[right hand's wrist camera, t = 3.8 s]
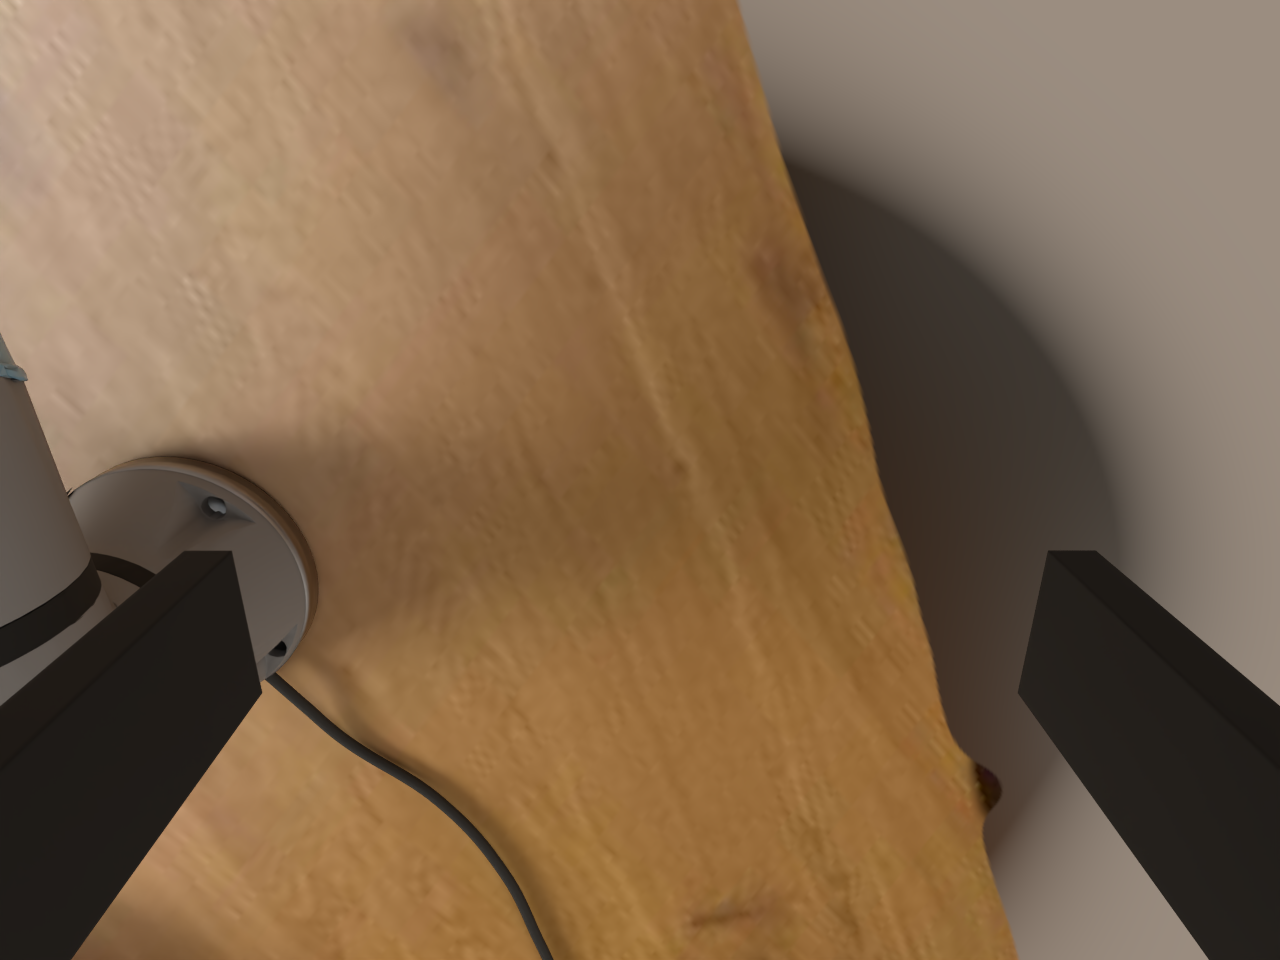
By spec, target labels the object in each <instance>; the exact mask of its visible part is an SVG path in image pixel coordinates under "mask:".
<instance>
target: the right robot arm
mask: <svg viewBox="0 0 1280 960" xmlns="http://www.w3.org/2000/svg"><path fill="white" fill-rule="evenodd" d="M27 380H28V379H27V375H26V373H25V372H24V370H23V369H22V368H20V367H19V366H17V365H15V363H14V361H13V359H12V357H11V355H10V353H9V351H8V349H7V347H6V344H5V342H4V340H3V338H2V336H1V334H0V960H71V959H72V957H73V956H74V955H75V953H76V952H77V951H78V949H79V948H80V946H81V945H82V944H83V942H84V941H85V939H86V938H87V937H88V935H89V934H90V932H91V931H92V930H93V928H94V927H95V925H96V924H97V923H98V921H99V920H100V918H101V917H102V916H103V914H104V913H105V911H106V910H107V909H108V907H109V906H110V904H111V903H112V902H113V900H114V899H115V898H116V896H117V895H118V893H119V892H120V891H121V889H122V888H123V886H124V885H125V884H126V882H127V881H128V879H129V878H130V877H131V875H132V874H133V872H134V871H135V870H136V868H137V867H138V865H139V864H140V863H141V861H142V860H143V858H144V857H145V856H146V854H147V853H148V851H149V850H150V849H151V847H152V846H153V845H154V843H155V842H156V840H157V839H158V838H159V836H160V835H161V833H162V832H163V831H164V829H165V828H166V826H167V825H168V824H169V822H170V821H171V819H172V818H173V817H174V815H175V814H176V812H177V811H178V810H179V808H180V807H181V805H182V804H183V803H184V801H185V800H186V798H187V797H188V796H189V794H190V793H191V792H192V790H193V789H194V787H195V786H196V785H197V783H198V782H199V780H200V779H201V778H202V776H203V775H204V773H205V772H206V771H207V769H208V768H209V766H210V765H211V764H212V762H213V761H214V759H215V758H216V757H217V755H218V754H219V752H220V751H221V750H222V748H223V747H224V745H225V744H226V743H227V741H228V740H229V738H230V737H231V736H232V734H233V733H234V732H235V730H236V729H237V727H238V726H239V725H240V723H241V722H242V720H243V719H244V718H245V716H246V715H247V713H248V712H249V711H250V709H251V708H252V706H253V705H254V704H255V702H256V701H257V699H258V698H259V697H260V695H261V694H262V689H261V685H260V682H261V681H263V680H266V681H267V682H269V683H270V684H271V685H272V686H273V687H274V688H275V689H277V690H278V691H279V692H280V693H281V694H282V695H283V696H285V697H286V698H287V699H288V700H289V701H290V702H292V703H293V704H294V705H295V706H296V707H297V708H299V709H300V710H301V711H302V712H303V713H304V714H305V715H307V716H308V717H309V718H310V719H311V720H312V721H313V722H314V723H316V724H317V725H318V726H319V727H320V728H321V729H322V730H324V731H325V732H326V733H327V734H328V735H330V736H331V737H332V738H333V739H335V740H336V741H337V742H339V743H340V744H341V745H343V746H344V747H346V748H347V749H348V750H350V751H351V752H353V753H354V754H356V755H358V756H359V757H361V758H362V759H364V760H366V761H367V762H369V763H371V764H372V765H374V766H376V767H378V768H379V769H381V770H383V771H384V772H386V773H388V774H390V775H391V776H393V777H395V778H397V779H398V780H400V781H402V782H403V783H405V784H407V785H408V786H410V787H411V788H413V789H414V790H416V791H417V792H419V793H420V794H422V795H423V796H424V797H426V798H427V799H428V800H430V801H431V802H432V803H433V804H435V805H436V806H437V807H438V808H439V809H441V810H442V811H443V812H444V813H445V814H446V815H447V816H449V817H450V818H451V819H452V820H453V821H454V822H455V823H456V824H457V825H458V826H459V827H460V828H461V829H462V830H463V831H464V832H465V833H466V834H467V835H468V836H469V837H470V838H471V839H472V841H473V842H474V843H475V844H476V845H477V846H478V848H479V849H480V850H481V851H482V853H483V854H484V855H485V856H486V858H487V859H488V860H489V862H490V863H491V864H492V866H493V867H494V869H495V870H496V871H497V873H498V874H499V876H500V877H501V879H502V880H503V882H504V883H505V885H506V886H507V888H508V890H509V891H510V893H511V895H512V897H513V899H514V900H515V902H516V904H517V906H518V909H519V911H520V913H521V915H522V917H523V920H524V922H525V924H526V926H527V929H528V931H529V933H530V935H531V937H532V939H533V941H534V944H535V946H536V948H537V950H538V952H539V954H540V956H541V958H542V960H553V958H552V956H551V953H550V951H549V949H548V947H547V945H546V943H545V941H544V939H543V937H542V935H541V933H540V930H539V928H538V926H537V924H536V921H535V919H534V917H533V915H532V912H531V910H530V908H529V906H528V903H527V901H526V899H525V897H524V895H523V893H522V891H521V890H520V888H519V886H518V884H517V883H516V881H515V879H514V878H513V876H512V875H511V873H510V872H509V870H508V869H507V867H506V866H505V864H504V863H503V862H502V860H501V859H500V857H499V856H498V855H497V853H496V852H495V851H494V849H493V848H492V847H491V845H490V844H489V843H488V842H487V840H486V839H485V838H484V837H483V836H482V834H481V833H480V832H479V831H478V830H477V829H476V828H475V827H474V826H473V825H472V824H471V822H470V821H469V820H468V819H467V818H466V817H464V816H463V815H462V814H461V813H460V812H459V811H458V810H457V809H456V808H455V807H454V806H453V805H451V804H450V803H449V802H448V801H447V800H446V799H445V798H443V797H442V796H441V795H440V794H439V793H437V792H436V791H435V790H434V789H432V788H431V787H430V786H428V785H427V784H425V783H424V782H423V781H421V780H420V779H418V778H417V777H415V776H413V775H412V774H410V773H409V772H407V771H405V770H404V769H402V768H400V767H399V766H397V765H395V764H393V763H392V762H390V761H388V760H386V759H385V758H383V757H381V756H379V755H378V754H376V753H374V752H373V751H371V750H370V749H368V748H366V747H365V746H363V745H362V744H360V743H359V742H357V741H356V740H354V739H353V738H351V737H350V736H349V735H347V734H346V733H345V732H343V731H342V730H341V729H339V728H338V727H337V726H336V725H334V724H333V723H332V722H331V721H330V720H329V719H327V718H326V717H325V716H324V715H323V714H322V713H321V712H320V711H319V710H318V709H316V708H315V707H314V706H313V705H312V704H311V703H310V702H309V701H307V700H306V699H305V698H304V697H303V696H302V695H301V694H299V693H298V692H297V691H296V690H295V689H294V688H293V687H291V686H290V685H289V684H288V683H287V682H286V681H285V680H284V679H282V678H281V677H280V676H279V675H278V674H277V673H276V671H277V670H278V669H279V668H280V667H282V666H283V665H284V664H285V662H286V661H287V660H288V659H289V658H290V657H291V655H292V654H293V652H294V651H295V649H296V648H297V646H298V645H299V644H300V642H301V641H302V639H303V638H304V636H305V635H306V633H307V632H308V630H309V628H310V626H311V624H312V621H313V618H314V616H315V612H316V607H317V601H318V578H317V571H316V567H315V563H314V560H313V557H312V554H311V551H310V549H309V547H308V544H307V542H306V540H305V538H304V537H303V535H302V533H301V531H300V530H299V528H298V527H297V526H296V524H295V523H294V521H293V520H292V519H291V517H290V516H289V515H288V514H287V513H286V512H285V510H284V509H283V508H282V507H281V506H280V505H279V504H278V503H277V502H276V501H275V500H273V499H272V498H271V497H270V496H269V495H268V494H266V493H265V492H264V491H262V490H261V489H260V488H258V487H257V486H255V485H254V484H252V483H251V482H249V481H247V480H246V479H244V478H242V477H241V476H239V475H237V474H235V473H232V472H230V471H228V470H226V469H223V468H221V467H218V466H215V465H212V464H209V463H206V462H202V461H197V460H193V459H187V458H179V457H150V458H143V459H137V460H133V461H129V462H126V463H123V464H120V465H118V466H115V467H113V468H111V469H109V470H107V471H105V472H103V473H101V474H100V475H98V476H96V477H95V478H93V479H91V480H89V481H88V482H86V483H84V484H83V485H81V486H80V487H78V488H77V489H75V490H74V491H73V492H72V493H71V494H69V495H68V493H69V492H70V490H71V489H72V488H71V489H70V490H69V491H68V492H67V493H66V490H65V488H64V485H63V483H62V480H61V477H60V475H59V472H58V469H57V467H56V464H55V462H54V459H53V456H52V454H51V451H50V449H49V446H48V443H47V441H46V438H45V436H44V433H43V430H42V428H41V425H40V423H39V420H38V417H37V415H36V412H35V410H34V407H33V404H32V402H31V399H30V396H29V394H28V391H27V389H26V386H25V383H24V381H27ZM67 495H68V496H67ZM1018 694H1019V695H1020V697H1021V698H1022V699H1023V701H1024V702H1025V704H1026V705H1027V706H1028V708H1029V709H1030V711H1031V712H1032V713H1033V715H1034V716H1035V718H1036V719H1037V720H1038V722H1039V723H1040V725H1041V726H1042V727H1043V729H1044V730H1045V731H1046V733H1047V734H1048V736H1049V737H1050V738H1051V740H1052V741H1053V743H1054V744H1055V745H1056V747H1057V748H1058V750H1059V751H1060V752H1061V754H1062V755H1063V757H1064V758H1065V759H1066V761H1067V762H1068V764H1069V765H1070V766H1071V768H1072V769H1073V771H1074V772H1075V773H1076V775H1077V776H1078V777H1079V779H1080V780H1081V782H1082V783H1083V785H1084V786H1085V787H1086V789H1087V790H1088V792H1089V793H1090V794H1091V796H1092V797H1093V798H1094V800H1095V801H1096V803H1097V804H1098V805H1099V807H1100V808H1101V810H1102V811H1103V812H1104V814H1105V815H1106V817H1107V818H1108V819H1109V821H1110V822H1111V824H1112V825H1113V826H1114V828H1115V829H1116V831H1117V832H1118V833H1119V835H1120V836H1121V838H1122V839H1123V840H1124V842H1125V843H1126V845H1127V846H1128V847H1129V849H1130V850H1131V851H1132V853H1133V854H1134V856H1135V857H1136V858H1137V860H1138V861H1139V863H1140V864H1141V865H1142V867H1143V868H1144V870H1145V871H1146V872H1147V874H1148V875H1149V877H1150V878H1151V879H1152V881H1153V882H1154V884H1155V885H1156V886H1157V888H1158V889H1159V891H1160V892H1161V893H1162V895H1163V896H1164V898H1165V899H1166V900H1167V902H1168V903H1169V904H1170V906H1171V907H1172V909H1173V910H1174V911H1175V913H1176V914H1177V916H1178V917H1179V918H1180V920H1181V921H1182V922H1183V924H1184V925H1185V927H1186V928H1187V930H1188V931H1189V932H1190V934H1191V935H1192V937H1193V938H1194V939H1195V941H1196V942H1197V943H1198V945H1199V946H1200V948H1201V949H1202V950H1203V952H1204V953H1205V955H1206V956H1207V957H1208V959H1209V960H1280V706H1279V705H1278V704H1277V703H1276V702H1274V701H1273V700H1272V699H1271V698H1270V697H1268V696H1267V695H1266V694H1265V693H1264V692H1263V691H1261V690H1260V689H1259V688H1258V687H1257V686H1255V685H1254V684H1253V683H1252V682H1251V681H1250V680H1248V679H1247V678H1246V677H1245V676H1244V675H1242V674H1241V673H1240V672H1239V671H1238V670H1236V669H1235V668H1234V667H1233V666H1232V665H1231V664H1229V663H1228V662H1227V661H1226V660H1225V659H1223V658H1222V657H1221V656H1220V655H1219V654H1217V653H1216V652H1215V651H1214V650H1213V649H1212V648H1210V647H1209V646H1208V645H1207V644H1206V643H1205V642H1203V641H1202V640H1201V639H1200V638H1199V637H1197V636H1196V635H1195V634H1194V633H1193V632H1192V631H1190V630H1189V629H1188V628H1187V627H1186V626H1184V625H1183V624H1182V623H1181V622H1180V621H1178V620H1177V619H1176V618H1175V617H1174V616H1172V615H1171V614H1170V613H1169V612H1168V611H1167V610H1165V609H1164V608H1163V607H1162V606H1161V605H1160V604H1158V603H1157V602H1156V601H1155V600H1154V599H1152V598H1151V597H1150V596H1149V595H1148V594H1146V593H1145V592H1144V591H1143V590H1142V589H1141V588H1139V587H1138V586H1137V585H1136V584H1135V583H1133V582H1132V581H1131V580H1130V579H1129V578H1128V577H1126V576H1125V575H1124V574H1123V573H1122V572H1120V571H1119V570H1118V569H1117V568H1116V567H1115V566H1113V565H1112V564H1111V563H1110V562H1109V561H1107V560H1106V559H1105V558H1104V557H1103V556H1101V555H1100V554H1099V553H1098V552H1097V551H1048V553H1047V558H1046V563H1045V567H1044V572H1043V577H1042V582H1041V586H1040V591H1039V596H1038V600H1037V605H1036V610H1035V614H1034V619H1033V624H1032V628H1031V633H1030V638H1029V643H1028V647H1027V652H1026V657H1025V661H1024V666H1023V671H1022V675H1021V680H1020V685H1019V690H1018Z"/></svg>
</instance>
